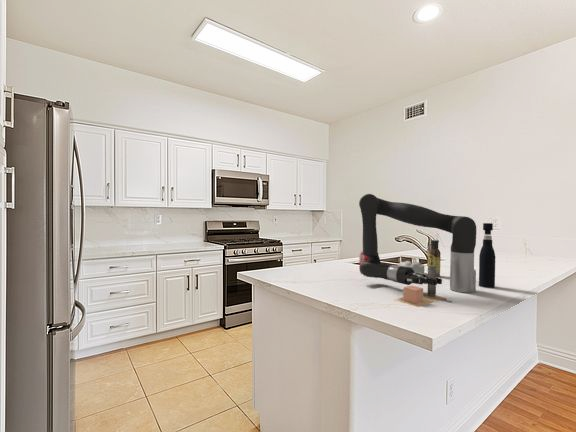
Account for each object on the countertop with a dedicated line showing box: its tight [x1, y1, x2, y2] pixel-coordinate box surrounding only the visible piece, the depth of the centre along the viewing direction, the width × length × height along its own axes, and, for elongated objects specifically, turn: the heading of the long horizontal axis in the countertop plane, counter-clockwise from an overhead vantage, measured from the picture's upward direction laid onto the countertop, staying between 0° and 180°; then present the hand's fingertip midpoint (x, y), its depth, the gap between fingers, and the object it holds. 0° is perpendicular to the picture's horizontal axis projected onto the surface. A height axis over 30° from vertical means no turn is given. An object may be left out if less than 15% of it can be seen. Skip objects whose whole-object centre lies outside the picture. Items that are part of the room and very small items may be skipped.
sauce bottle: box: [427, 239, 442, 278], centre depth 167 cm, size 6×6×20 cm
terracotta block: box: [402, 285, 424, 304], centre depth 115 cm, size 5×5×5 cm
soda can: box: [358, 250, 369, 273], centre depth 174 cm, size 7×7×12 cm
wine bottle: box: [478, 222, 496, 289], centre depth 145 cm, size 6×6×30 cm
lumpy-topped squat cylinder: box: [397, 260, 425, 274], centre depth 161 cm, size 10×13×9 cm
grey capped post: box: [394, 264, 448, 308], centre depth 118 cm, size 20×10×13 cm, turn 126°
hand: (438, 282), depth 120 cm, fingers closed on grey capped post, 3 cm apart
